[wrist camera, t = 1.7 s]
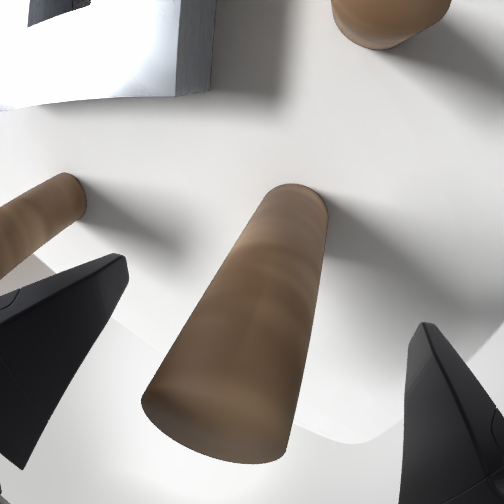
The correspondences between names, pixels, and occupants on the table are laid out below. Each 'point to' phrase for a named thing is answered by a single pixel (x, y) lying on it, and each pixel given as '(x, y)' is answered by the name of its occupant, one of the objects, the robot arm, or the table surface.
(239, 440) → the long dowel
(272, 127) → the table surface
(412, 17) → the short dowel
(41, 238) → the medium dowel
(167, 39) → the hole plate
